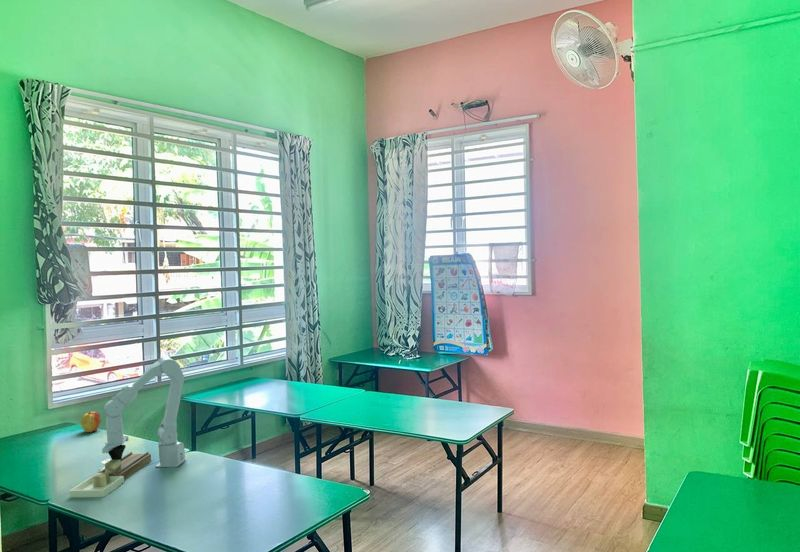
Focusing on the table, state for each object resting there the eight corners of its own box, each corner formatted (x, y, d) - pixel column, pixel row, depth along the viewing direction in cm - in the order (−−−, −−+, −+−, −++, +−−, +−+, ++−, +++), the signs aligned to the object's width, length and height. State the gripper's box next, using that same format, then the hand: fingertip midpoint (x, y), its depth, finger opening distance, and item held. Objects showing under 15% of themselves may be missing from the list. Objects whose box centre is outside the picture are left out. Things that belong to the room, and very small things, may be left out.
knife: (102, 454, 251) (122, 452, 252) (103, 458, 251) (122, 455, 252) (79, 478, 221) (101, 475, 223) (80, 482, 221) (102, 479, 223)
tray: (124, 482, 219) (123, 475, 218) (103, 497, 206) (103, 490, 206) (92, 482, 220) (91, 476, 220) (69, 497, 207) (69, 490, 207)
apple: (101, 431, 286) (100, 412, 286) (81, 435, 282) (79, 415, 281) (101, 427, 294) (99, 408, 294) (81, 430, 290) (79, 411, 289)
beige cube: (121, 469, 224) (120, 459, 224) (115, 473, 220) (114, 463, 220) (111, 469, 224) (110, 459, 224) (105, 473, 220) (104, 463, 220)
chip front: (108, 472, 218) (102, 476, 214) (109, 482, 218) (103, 487, 214) (98, 472, 218) (92, 476, 214) (99, 483, 218) (93, 487, 214)
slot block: (151, 460, 241) (150, 451, 241) (121, 481, 219) (120, 472, 219) (128, 460, 242) (128, 452, 242) (96, 482, 220) (96, 472, 220)
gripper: (115, 425, 232) (118, 458, 233) (93, 437, 218) (96, 472, 219) (132, 425, 232) (134, 457, 232) (111, 436, 217) (113, 471, 218)
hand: (117, 464), depth 225 cm, fingers closed
